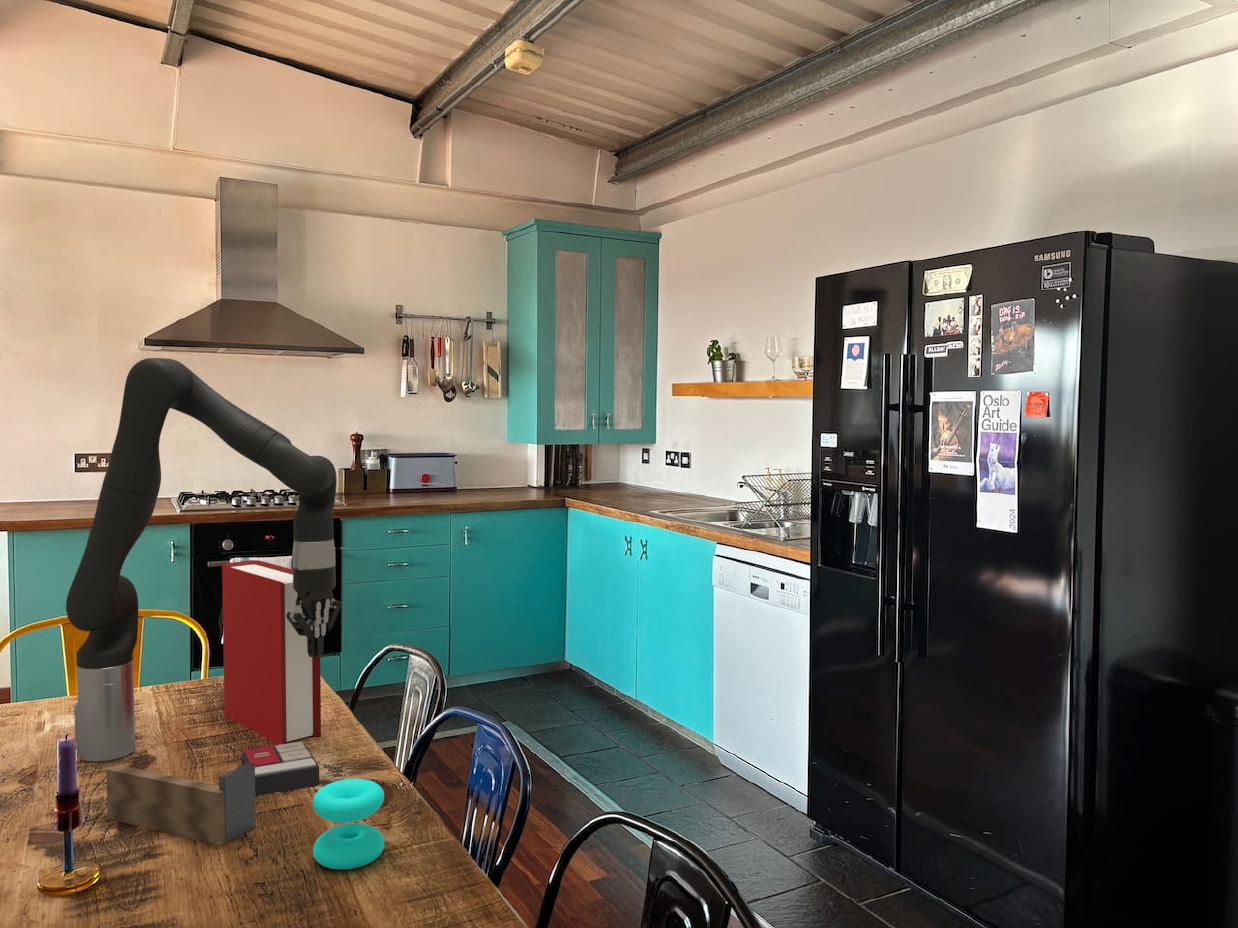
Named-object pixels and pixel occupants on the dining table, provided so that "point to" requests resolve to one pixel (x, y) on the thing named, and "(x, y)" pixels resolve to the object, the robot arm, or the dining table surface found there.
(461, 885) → the dining table surface
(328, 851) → the donuts
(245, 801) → the bookend
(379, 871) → the dining table surface
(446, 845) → the dining table surface
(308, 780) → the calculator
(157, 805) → the mottled stone block
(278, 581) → the book
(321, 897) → the dining table surface
